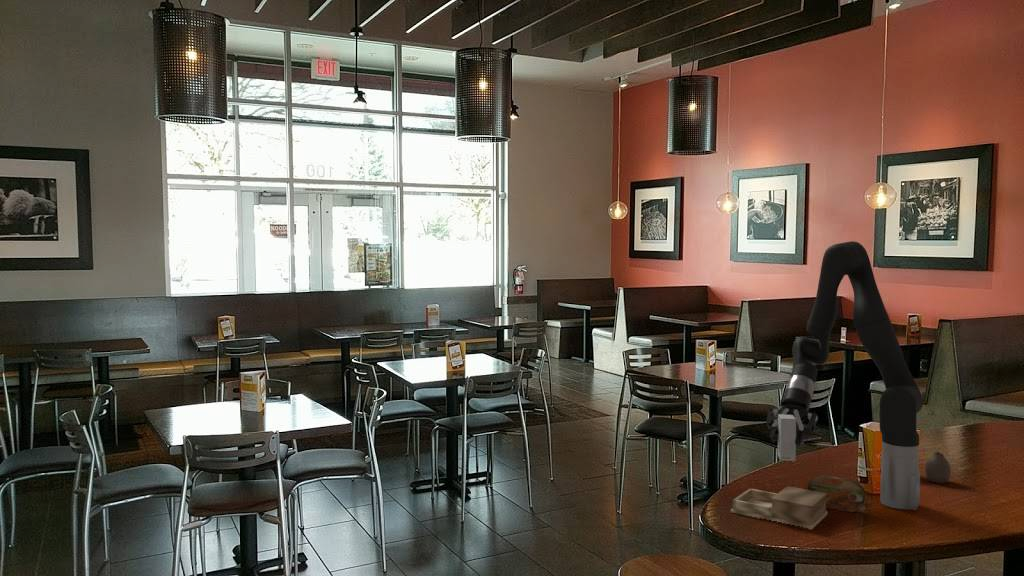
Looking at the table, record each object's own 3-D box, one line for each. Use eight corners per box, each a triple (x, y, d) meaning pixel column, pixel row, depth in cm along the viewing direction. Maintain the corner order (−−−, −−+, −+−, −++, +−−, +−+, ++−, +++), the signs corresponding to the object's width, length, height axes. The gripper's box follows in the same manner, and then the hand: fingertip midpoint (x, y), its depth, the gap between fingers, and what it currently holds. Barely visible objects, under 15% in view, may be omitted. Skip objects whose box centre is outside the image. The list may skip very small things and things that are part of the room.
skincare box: (796, 461, 213) (796, 419, 213) (780, 460, 214) (780, 418, 214) (792, 455, 219) (793, 414, 219) (777, 455, 220) (777, 413, 220)
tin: (806, 503, 212) (807, 473, 211) (810, 500, 214) (811, 471, 214) (863, 515, 202) (864, 484, 201) (867, 512, 204) (868, 481, 204)
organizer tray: (827, 514, 203) (827, 492, 202) (811, 529, 192) (812, 506, 191) (749, 498, 215) (750, 478, 215) (730, 512, 204) (731, 491, 204)
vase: (926, 483, 229) (926, 454, 229) (923, 477, 235) (924, 449, 235) (952, 486, 226) (953, 457, 226) (948, 479, 233) (949, 451, 232)
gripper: (770, 384, 226) (756, 431, 217) (821, 389, 217) (808, 438, 209) (776, 399, 231) (762, 446, 222) (826, 404, 222) (813, 453, 213)
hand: (785, 442), depth 215 cm, fingers closed on skincare box, 6 cm apart
